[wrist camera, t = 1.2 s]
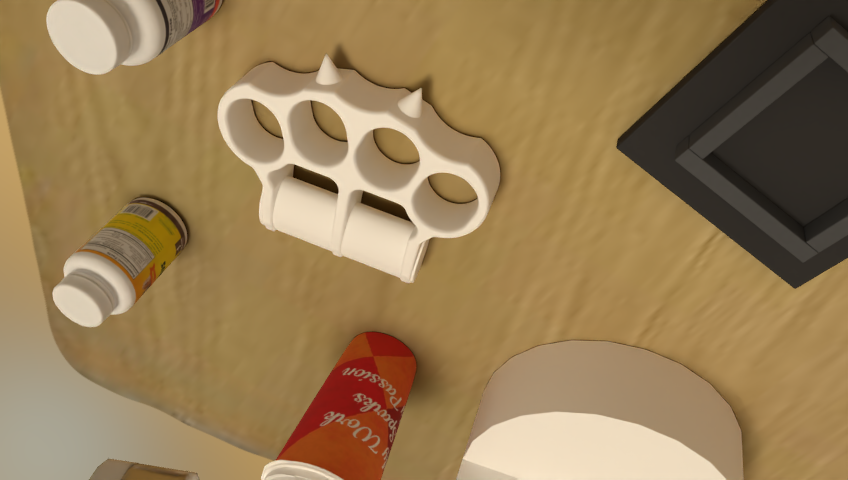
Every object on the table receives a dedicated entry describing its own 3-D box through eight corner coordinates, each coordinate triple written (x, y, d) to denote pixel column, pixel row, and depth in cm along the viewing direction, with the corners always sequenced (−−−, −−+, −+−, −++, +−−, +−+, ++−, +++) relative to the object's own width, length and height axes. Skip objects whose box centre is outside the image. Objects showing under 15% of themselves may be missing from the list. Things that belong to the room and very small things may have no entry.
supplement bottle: (164, 258, 60) (84, 343, 52) (116, 208, 58) (27, 289, 50) (204, 238, 57) (126, 325, 49) (155, 184, 55) (66, 266, 47)
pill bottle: (133, -25, 44) (20, 35, 37) (167, -91, 41) (50, -40, 34) (203, 37, 45) (107, 107, 38) (242, -23, 42) (144, 41, 35)
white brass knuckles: (237, 193, 53) (246, 9, 43) (464, 280, 51) (526, 109, 42) (213, 219, 50) (217, 29, 41) (451, 312, 49) (514, 137, 39)
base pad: (835, -63, 32) (842, -47, 30) (1045, 126, 34) (1065, 152, 32) (617, 139, 41) (612, 161, 39) (793, 279, 43) (797, 306, 41)
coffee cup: (449, 378, 58) (388, 546, 47) (378, 400, 63) (307, 558, 52) (386, 307, 55) (305, 468, 44) (317, 336, 60) (227, 487, 49)
